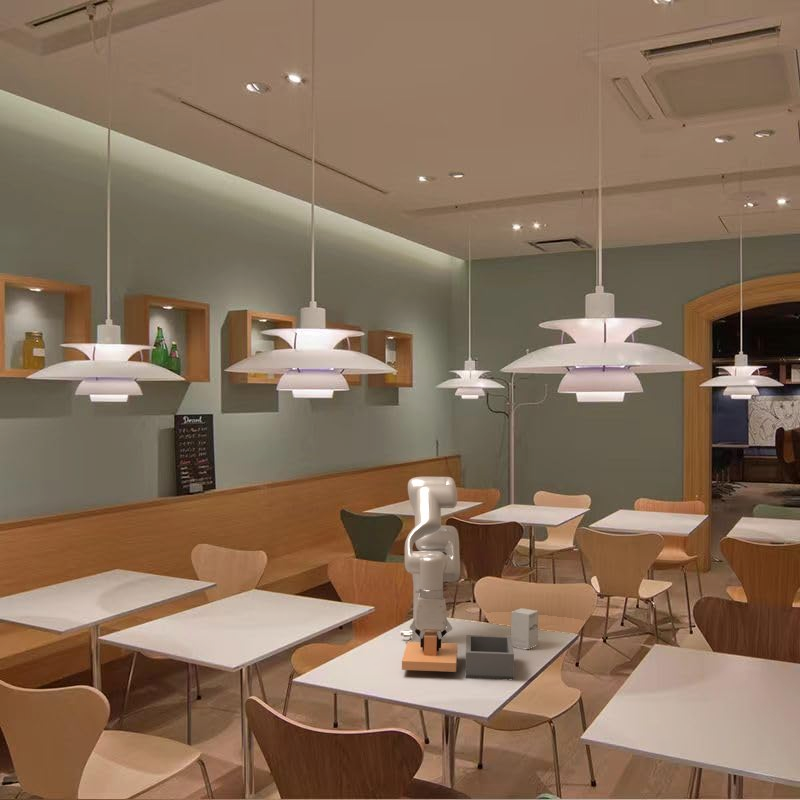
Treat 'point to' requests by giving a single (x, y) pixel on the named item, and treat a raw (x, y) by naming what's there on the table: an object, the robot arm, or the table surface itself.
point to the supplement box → (524, 628)
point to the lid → (430, 655)
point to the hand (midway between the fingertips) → (430, 649)
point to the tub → (489, 657)
